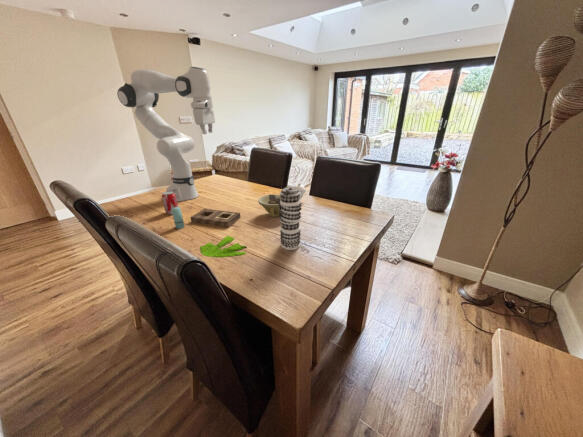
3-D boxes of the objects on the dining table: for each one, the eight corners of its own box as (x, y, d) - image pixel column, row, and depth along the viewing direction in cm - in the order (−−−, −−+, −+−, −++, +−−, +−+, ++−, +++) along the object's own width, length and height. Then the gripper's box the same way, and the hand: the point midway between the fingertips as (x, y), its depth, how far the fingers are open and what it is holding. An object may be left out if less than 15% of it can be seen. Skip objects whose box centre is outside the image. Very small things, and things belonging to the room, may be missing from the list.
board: (191, 222, 121) (190, 216, 120) (205, 213, 132) (204, 208, 131) (228, 227, 116) (228, 221, 114) (240, 217, 126) (239, 212, 125)
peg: (173, 228, 116) (169, 209, 111) (179, 224, 119) (175, 206, 115) (180, 229, 114) (176, 210, 110) (186, 225, 118) (182, 207, 114)
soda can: (163, 213, 132) (157, 193, 127) (173, 209, 138) (169, 189, 133) (171, 216, 129) (166, 195, 124) (182, 211, 135) (177, 191, 130)
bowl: (288, 223, 120) (288, 205, 116) (255, 220, 123) (253, 203, 119) (294, 209, 136) (294, 194, 132) (265, 207, 139) (264, 192, 135)
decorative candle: (282, 251, 95) (280, 193, 85) (277, 240, 104) (275, 186, 93) (303, 248, 98) (304, 191, 87) (297, 237, 106) (297, 184, 95)
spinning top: (298, 198, 153) (298, 180, 148) (307, 200, 149) (308, 182, 144) (290, 201, 148) (290, 183, 143) (300, 204, 143) (300, 185, 138)
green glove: (192, 248, 99) (191, 244, 98) (237, 231, 113) (236, 227, 112) (216, 269, 86) (215, 264, 85) (263, 247, 100) (263, 242, 99)
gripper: (204, 104, 128) (208, 131, 134) (189, 104, 110) (194, 135, 115) (215, 104, 128) (219, 131, 134) (202, 103, 110) (207, 135, 115)
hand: (207, 133), depth 124 cm, fingers open, 8 cm apart
